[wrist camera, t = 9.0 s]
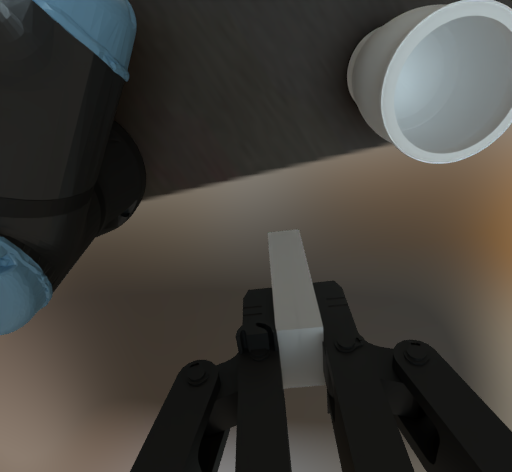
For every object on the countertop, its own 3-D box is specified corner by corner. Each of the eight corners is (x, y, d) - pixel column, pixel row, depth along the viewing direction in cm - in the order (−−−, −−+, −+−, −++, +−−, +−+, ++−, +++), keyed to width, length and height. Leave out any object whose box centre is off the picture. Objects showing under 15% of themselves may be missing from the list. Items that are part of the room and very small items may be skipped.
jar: (335, 20, 36) (384, 11, 23) (442, 4, 35) (556, -14, 22) (337, 129, 41) (378, 173, 28) (431, 116, 40) (517, 156, 27)
